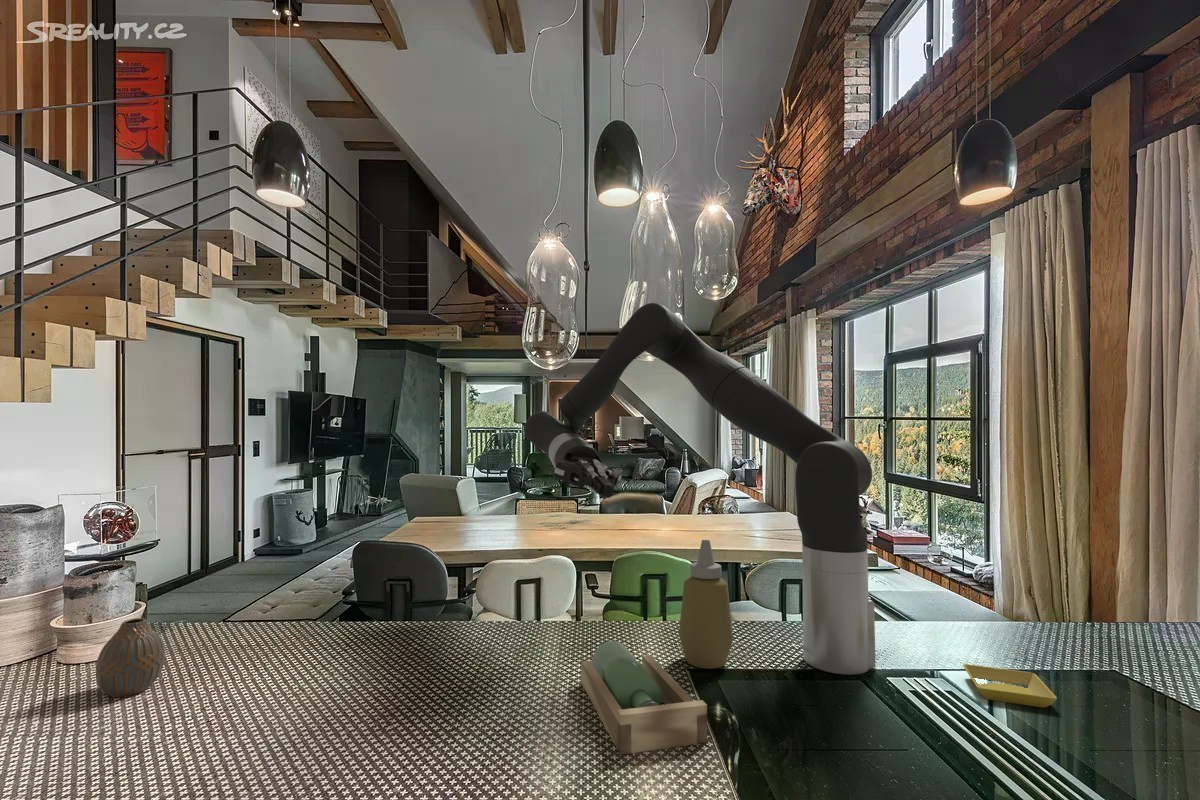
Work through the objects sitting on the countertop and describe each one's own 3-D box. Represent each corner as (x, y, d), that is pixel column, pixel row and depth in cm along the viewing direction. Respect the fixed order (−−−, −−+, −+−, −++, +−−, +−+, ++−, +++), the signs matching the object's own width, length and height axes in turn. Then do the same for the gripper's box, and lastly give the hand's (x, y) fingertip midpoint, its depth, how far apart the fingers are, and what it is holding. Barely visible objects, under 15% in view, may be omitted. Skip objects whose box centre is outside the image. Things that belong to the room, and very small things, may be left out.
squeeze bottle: (734, 675, 80) (733, 546, 81) (676, 670, 82) (677, 543, 83) (732, 654, 88) (732, 537, 89) (680, 650, 90) (680, 534, 91)
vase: (175, 683, 75) (180, 616, 76) (116, 706, 69) (122, 632, 69) (140, 675, 77) (144, 610, 78) (80, 697, 71) (85, 625, 71)
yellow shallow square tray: (977, 703, 73) (977, 686, 74) (962, 677, 81) (962, 662, 82) (1059, 716, 70) (1058, 698, 70) (1035, 688, 78) (1034, 672, 78)
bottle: (624, 635, 79) (667, 683, 63) (633, 672, 79) (679, 730, 63) (587, 648, 77) (623, 701, 62) (597, 687, 77) (634, 749, 62)
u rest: (650, 676, 79) (650, 647, 80) (706, 742, 62) (707, 704, 62) (580, 684, 77) (581, 653, 77) (620, 754, 60) (620, 715, 60)
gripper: (543, 434, 102) (573, 465, 86) (609, 442, 107) (649, 472, 91) (535, 473, 103) (563, 511, 87) (601, 479, 108) (639, 516, 92)
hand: (607, 491), depth 89 cm, fingers closed
